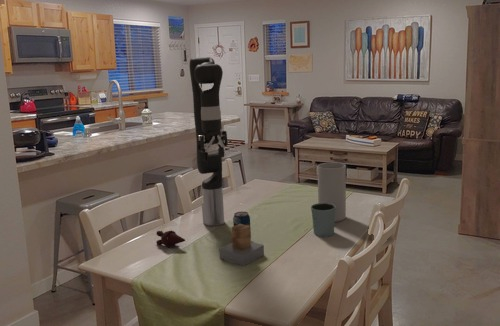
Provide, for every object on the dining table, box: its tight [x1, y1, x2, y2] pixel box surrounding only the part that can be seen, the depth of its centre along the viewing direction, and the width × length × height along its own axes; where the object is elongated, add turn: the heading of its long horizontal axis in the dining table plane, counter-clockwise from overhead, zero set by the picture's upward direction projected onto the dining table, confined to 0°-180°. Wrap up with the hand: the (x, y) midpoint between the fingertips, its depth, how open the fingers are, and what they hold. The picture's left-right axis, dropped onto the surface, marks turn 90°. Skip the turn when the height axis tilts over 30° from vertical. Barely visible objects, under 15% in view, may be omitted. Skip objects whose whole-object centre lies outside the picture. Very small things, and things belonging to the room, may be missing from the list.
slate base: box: [218, 241, 265, 267], centre depth 179 cm, size 12×12×4 cm
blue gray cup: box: [310, 202, 336, 238], centre depth 198 cm, size 10×10×12 cm
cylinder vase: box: [317, 162, 347, 223], centre depth 215 cm, size 12×12×25 cm
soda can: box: [232, 211, 252, 238], centre depth 193 cm, size 7×7×12 cm
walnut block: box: [230, 224, 252, 250], centre depth 177 cm, size 5×5×8 cm
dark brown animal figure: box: [155, 230, 186, 248], centre depth 192 cm, size 7×7×15 cm
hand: (213, 159), depth 182 cm, fingers open, 8 cm apart
